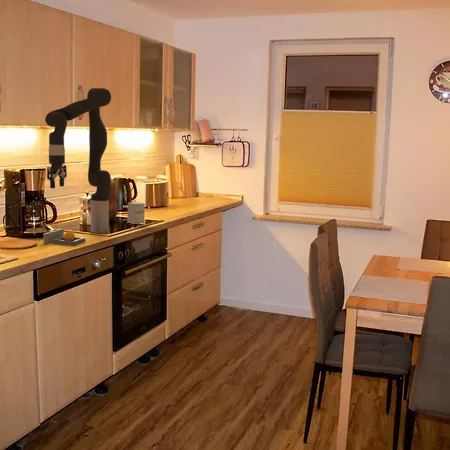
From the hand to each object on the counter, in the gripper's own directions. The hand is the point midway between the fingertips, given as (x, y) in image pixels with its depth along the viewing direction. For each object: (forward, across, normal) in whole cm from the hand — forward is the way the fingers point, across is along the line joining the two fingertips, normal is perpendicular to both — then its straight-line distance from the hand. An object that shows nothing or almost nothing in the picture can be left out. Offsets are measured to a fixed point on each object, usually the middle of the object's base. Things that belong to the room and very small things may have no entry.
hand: (57, 187), depth 293 cm
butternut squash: (+27, -63, -4) cm, 68 cm away
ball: (+23, +6, +9) cm, 25 cm away
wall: (+26, +5, +1) cm, 26 cm away
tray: (+26, +6, +9) cm, 28 cm away
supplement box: (+27, -60, +16) cm, 68 cm away
